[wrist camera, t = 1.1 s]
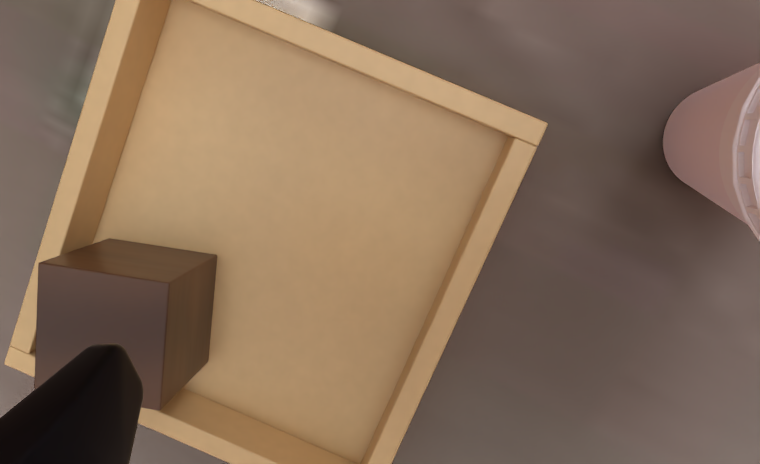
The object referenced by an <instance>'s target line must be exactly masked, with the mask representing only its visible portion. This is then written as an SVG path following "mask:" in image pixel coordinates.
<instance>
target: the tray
mask: <svg viewBox="0 0 760 464" xmlns="http://www.w3.org/2000/svg"><path fill="white" fill-rule="evenodd" d="M547 126H548V124H547V123H546V122H544V121H541V120H539V119H537V118H534V117H532V116H529V115H527V114H525V113H522V112H520V111H518V110H515V109H513V108H510V107H508V106H506V105H503V104H501V103H498V102H496V101H494V100H491V99H489V98H487V97H484V96H482V95H479V94H477V93H475V92H472V91H470V90H467V89H465V88H463V87H460V86H458V85H456V84H453V83H451V82H448V81H446V80H444V79H441V78H439V77H436V76H434V75H432V74H429V73H427V72H425V71H422V70H420V69H417V68H415V67H413V66H410V65H408V64H405V63H403V62H401V61H398V60H396V59H394V58H391V57H389V56H386V55H384V54H382V53H379V52H377V51H374V50H372V49H370V48H367V47H365V46H363V45H360V44H358V43H355V42H353V41H351V40H348V39H346V38H343V37H341V36H339V35H336V34H334V33H332V32H329V31H327V30H324V29H322V28H320V27H317V26H315V25H312V24H310V23H308V22H305V21H303V20H301V19H298V18H296V17H293V16H291V15H289V14H286V13H284V12H281V11H279V10H277V9H274V8H272V7H270V6H267V5H265V4H262V3H260V2H258V1H255V0H116V1H115V4H114V8H113V11H112V14H111V17H110V21H109V24H108V27H107V30H106V34H105V37H104V40H103V43H102V47H101V50H100V53H99V56H98V60H97V63H96V66H95V69H94V73H93V76H92V79H91V82H90V86H89V89H88V92H87V95H86V99H85V102H84V105H83V108H82V112H81V115H80V118H79V121H78V125H77V128H76V131H75V135H74V138H73V141H72V144H71V148H70V151H69V154H68V157H67V161H66V164H65V167H64V170H63V174H62V177H61V180H60V183H59V187H58V190H57V193H56V196H55V200H54V203H53V206H52V209H51V213H50V216H49V219H48V222H47V226H46V229H45V232H44V235H43V239H42V242H41V245H40V249H39V252H38V255H37V258H36V262H35V265H34V268H33V271H32V275H31V278H30V281H29V284H28V288H27V291H26V294H25V297H24V301H23V304H22V307H21V310H20V314H19V317H18V320H17V323H16V327H15V330H14V333H13V336H12V340H11V343H10V345H11V346H10V347H9V350H8V353H7V356H6V359H5V363H4V364H5V365H7V366H10V367H12V368H14V369H16V370H19V371H21V372H23V373H25V374H28V375H30V376H32V377H35V351H36V320H37V290H38V264H39V262H42V261H45V260H48V259H51V258H54V257H56V256H59V255H62V254H65V253H68V252H71V251H74V250H77V249H79V248H82V247H85V246H88V245H91V244H94V243H97V242H100V241H102V240H105V239H108V238H111V239H118V240H124V241H131V242H137V243H144V244H150V245H157V246H163V247H170V248H177V249H183V250H190V251H196V252H203V253H209V254H216V255H217V267H216V279H215V290H214V302H213V313H212V325H211V337H210V348H209V360H208V362H207V363H206V364H205V366H204V367H203V368H202V369H201V370H200V371H199V372H198V373H197V374H196V375H195V376H194V377H193V378H192V379H191V380H190V381H189V382H188V383H187V384H186V385H185V386H184V387H183V388H182V389H181V390H180V391H179V392H178V393H177V394H176V395H175V396H174V397H173V398H172V399H171V400H170V401H169V402H168V403H167V404H166V405H165V406H164V407H163V408H162V409H161V410H159V411H158V410H152V409H146V408H141V410H140V415H139V419H138V423H139V424H141V425H144V426H146V427H148V428H151V429H153V430H155V431H157V432H160V433H162V434H164V435H166V436H169V437H171V438H173V439H176V440H178V441H180V442H182V443H185V444H187V445H189V446H191V447H194V448H196V449H198V450H201V451H203V452H205V453H207V454H210V455H212V456H214V457H216V458H219V459H221V460H223V461H226V462H228V463H230V464H392V461H393V459H394V457H395V455H396V453H397V451H398V448H399V446H400V444H401V442H402V440H403V438H404V435H405V433H406V431H407V429H408V427H409V425H410V422H411V420H412V418H413V416H414V414H415V412H416V409H417V407H418V405H419V403H420V401H421V399H422V396H423V394H424V392H425V390H426V388H427V386H428V383H429V381H430V379H431V377H432V375H433V373H434V370H435V368H436V366H437V364H438V362H439V360H440V357H441V355H442V353H443V351H444V349H445V347H446V344H447V342H448V340H449V338H450V336H451V334H452V331H453V329H454V327H455V325H456V323H457V321H458V318H459V316H460V314H461V312H462V310H463V308H464V305H465V303H466V301H467V299H468V297H469V295H470V292H471V290H472V288H473V286H474V284H475V282H476V279H477V277H478V275H479V273H480V271H481V269H482V266H483V264H484V262H485V260H486V258H487V256H488V253H489V251H490V249H491V247H492V245H493V243H494V240H495V238H496V236H497V234H498V232H499V230H500V227H501V225H502V223H503V221H504V219H505V217H506V214H507V212H508V210H509V208H510V206H511V204H512V201H513V199H514V197H515V195H516V193H517V191H518V188H519V186H520V184H521V182H522V180H523V178H524V175H525V173H526V171H527V169H528V167H529V165H530V162H531V160H532V158H533V156H534V154H535V152H536V149H537V147H536V146H538V145H539V143H540V141H541V139H542V136H543V134H544V132H545V130H546V128H547Z"/></svg>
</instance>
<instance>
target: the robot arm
mask: <svg viewBox="0 0 760 464" xmlns="http://www.w3.org/2000/svg"><path fill="white" fill-rule="evenodd" d="M142 401H143V384H142V381H141V378H140V376H139V375H138V373H137V371H136V369H135V367H134V365H133V363H132V361H131V359H130V357H129V355H128V353H127V351H126V350H125V348H124V347H123V346H122V345H120V344H117V343H112V344H95V345H91V346H89V347H88V348H86V349H85V350H83V351H82V352H81V353H80V354H79V355H77V356H76V357H75V358H74V359H72V360H71V361H70V362H69V363H67V364H66V365H65V366H64V367H63V368H61V369H60V370H59V371H58V372H56V373H55V374H54V375H53V376H51V377H50V378H49V379H48V380H47V381H45V382H44V383H43V384H42V385H40V386H39V387H38V388H37V389H35V390H34V391H33V392H32V393H31V394H29V395H28V396H27V397H26V398H24V399H23V400H22V401H21V402H19V403H18V404H17V405H16V406H15V407H13V408H12V409H11V410H10V411H8V412H7V413H6V414H5V415H4V416H2V417H1V418H0V464H129V461H130V456H131V451H132V447H133V442H134V438H135V433H136V428H137V424H138V419H139V415H140V410H141V405H142Z"/></svg>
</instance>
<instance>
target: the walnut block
mask: <svg viewBox="0 0 760 464" xmlns="http://www.w3.org/2000/svg"><path fill="white" fill-rule="evenodd" d="M216 267H217V255H216V254H209V253H203V252H196V251H190V250H183V249H177V248H170V247H163V246H157V245H150V244H144V243H137V242H131V241H124V240H118V239H111V238H108V239H105V240H102V241H100V242H97V243H94V244H91V245H88V246H85V247H82V248H79V249H77V250H74V251H71V252H68V253H65V254H62V255H59V256H56V257H54V258H51V259H48V260H45V261H42V262H39V264H38V290H37V320H36V351H35V381H34V388H35V389H37V388H38V387H39V386H40V385H42V384H43V383H44V382H45V381H47V380H48V379H49V378H50V377H51V376H53V375H54V374H55V373H56V372H58V371H59V370H60V369H61V368H63V367H64V366H65V365H66V364H67V363H69V362H70V361H71V360H72V359H74V358H75V357H76V356H77V355H79V354H80V353H81V352H82V351H83V350H85V349H86V348H88V347H89V346H91V345H95V344H112V343H117V344H120V345H122V346H123V347H124V348H125V350H126V351H127V353H128V355H129V357H130V359H131V361H132V363H133V365H134V367H135V369H136V371H137V373H138V375H139V376H140V378H141V381H142V384H143V401H142V405H141V408H146V409H152V410H158V411H159V410H161V409H162V408H163V407H164V406H165V405H166V404H167V403H168V402H169V401H170V400H171V399H172V398H173V397H174V396H175V395H176V394H177V393H178V392H179V391H180V390H181V389H182V388H183V387H184V386H185V385H186V384H187V383H188V382H189V381H190V380H191V379H192V378H193V377H194V376H195V375H196V374H197V373H198V372H199V371H200V370H201V369H202V368H203V367H204V366H205V364H206V363H207V362H208V360H209V348H210V337H211V325H212V313H213V302H214V290H215V279H216Z"/></svg>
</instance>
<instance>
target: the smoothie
mask: <svg viewBox="0 0 760 464" xmlns="http://www.w3.org/2000/svg"><path fill="white" fill-rule="evenodd" d="M663 151H664V155H665V159H666V161H667V164H668V166H669V167H670V169H671V170H672V172H673V173H674V174H675V175H676V176H677V177H678V178H679V179H680V180H681V181H682V182H684V183H685V184H687V185H689V186H690V187H692V188H693V189H695V190H696V191H698V192H699V193H701V194H702V195H704V196H705V197H707V198H708V199H710V200H711V201H713V202H714V203H716V204H717V205H719V206H720V207H722V208H723V209H725V210H726V211H728V212H729V213H731V214H732V215H734V216H735V217H737V218H738V219H740V220H741V221H743V222H744V223H746V224H747V225H748V226H749V227H750V229H751V230H752V232H753V233H754V235H755V236H756V238H757V239H758V241H759V242H760V63H758V64H755V65H753V66H751V67H749V68H747V69H745V70H742V71H740V72H738V73H736V74H734V75H731V76H729V77H727V78H725V79H723V80H720V81H718V82H716V83H714V84H712V85H710V86H707V87H705V88H703V89H701V90H699V91H697V92H695V93H693V94H691V95H690V96H688V97H687V98H685V99H684V100H683V101H682V102H681V103H680V104H679V105H678V106H677V107H676V108H675V109H674V111H673V112H672V114H671V115H670V117H669V119H668V121H667V124H666V126H665V130H664V135H663Z"/></svg>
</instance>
